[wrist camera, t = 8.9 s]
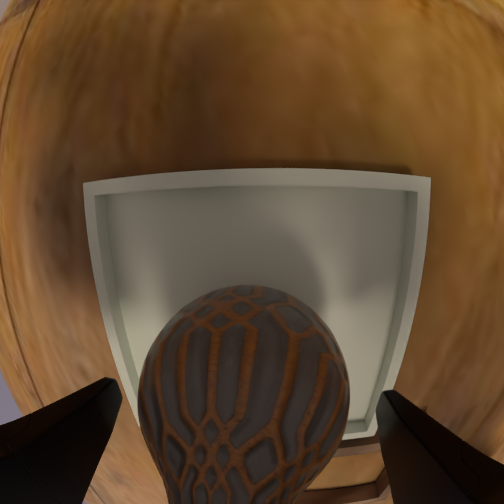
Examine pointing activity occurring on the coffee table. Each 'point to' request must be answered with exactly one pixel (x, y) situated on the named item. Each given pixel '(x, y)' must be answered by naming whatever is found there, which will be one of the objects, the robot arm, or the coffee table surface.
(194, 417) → the vase
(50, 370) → the coffee table surface
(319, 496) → the holder
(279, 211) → the tray
